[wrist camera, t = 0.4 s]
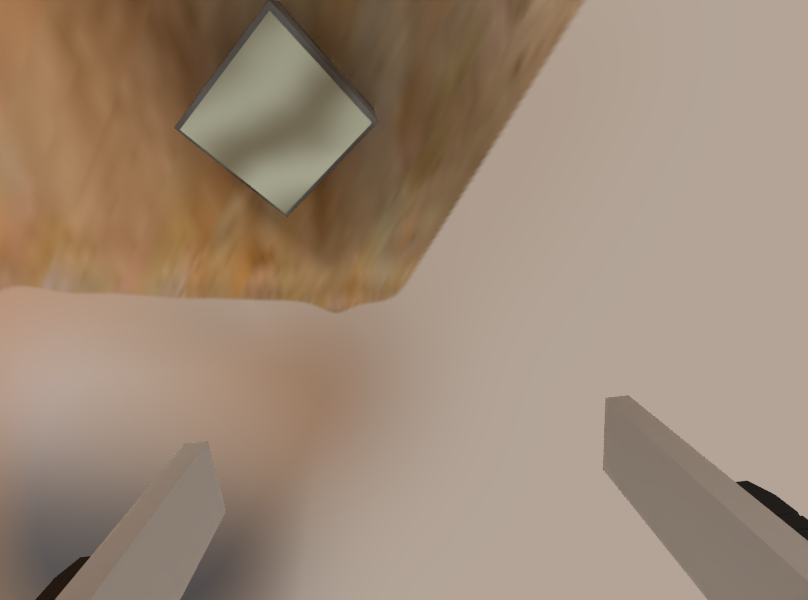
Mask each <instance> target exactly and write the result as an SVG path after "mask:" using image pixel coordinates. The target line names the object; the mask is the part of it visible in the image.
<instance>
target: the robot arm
mask: <svg viewBox="0 0 808 600" xmlns="http://www.w3.org/2000/svg"><path fill="white" fill-rule="evenodd" d="M603 470H604V471H605V472H606V473H607V475H608V476H609V477H610V479H611V480H612V481H613V482H614V484H615V485H616V486H617V487H618V489H619V490H620V491H621V492H622V494H623V495H624V496H625V497H626V498H627V500H628V501H629V502H630V504H631V505H632V506H633V507H634V508H635V510H636V511H637V512H638V513H639V515H640V516H641V517H642V518H643V520H644V521H645V522H646V523H647V525H648V526H649V527H650V528H651V530H652V531H653V532H654V533H655V535H656V536H657V537H658V538H659V540H660V541H661V542H662V543H663V545H664V546H665V547H666V548H667V550H668V551H669V552H670V553H671V555H672V556H673V557H674V558H675V560H676V561H677V562H678V563H679V565H680V566H681V567H682V568H683V570H684V571H685V572H686V573H687V574H688V576H689V577H690V578H691V580H692V581H693V582H694V583H695V584H696V586H697V587H698V588H699V590H700V591H701V592H702V593H703V595H705V597H706V598H707V599H708V600H808V520H807V519H806V518H805V517H804V516H800V515H799V514H798V512H797V511H796V510H794V509H793V508H792V507H790V506H789V505H788V504H786V503H785V502H784V501H782V500H781V499H780V498H779V497H777V496H776V495H774V494H772V493H771V492H768V491H767V490H764V489H763V488H761V487H758V486H757V485H755V484H753V483H751V482H749V481H742V482H735V481H733V480H732V479H731V478H730V477H728V476H727V475H726V474H725V473H723V472H722V471H721V470H720V469H718V468H717V467H716V466H715V465H714V464H712V463H711V462H710V461H708V460H707V459H706V458H705V457H703V456H702V455H701V454H700V453H699V452H697V451H696V450H695V449H694V448H693V447H691V446H690V445H689V444H688V443H686V442H685V441H684V440H683V439H681V438H680V437H679V436H678V435H676V434H675V433H674V432H673V431H672V430H670V429H669V428H668V427H667V426H665V425H664V424H663V423H662V422H660V421H659V420H658V419H657V418H655V417H654V416H653V415H652V414H651V413H649V412H648V411H647V410H646V409H644V408H643V407H642V406H641V405H639V404H638V403H637V402H636V401H635V400H633V399H632V398H631V397H630V396H619V397H610V398H606V403H605V429H604V457H603ZM225 512H226V510H225V506H224V502H223V498H222V494H221V490H220V487H219V482H218V479H217V474H216V470H215V467H214V463H213V459H212V455H211V451H210V447H209V443H208V441H206V442H197V443H187V444H184V445H183V446H182V447H181V449H180V450H179V451H178V452H177V453H176V455H175V456H174V457H173V458H172V459H171V461H170V462H169V463H168V464H167V466H166V467H165V468H164V469H163V470H162V472H161V473H160V474H159V475H158V476H157V477H156V479H155V480H154V481H153V482H152V484H151V485H150V486H149V487H148V488H147V489H146V491H145V492H144V493H143V494H142V496H141V497H140V498H139V499H138V500H137V501H136V503H135V504H134V505H133V506H132V508H131V509H130V510H129V511H128V512H127V514H126V515H125V516H124V517H123V518H122V520H121V521H120V522H119V523H118V524H117V526H116V527H115V528H114V529H113V530H112V532H111V533H110V534H109V535H108V536H107V538H106V539H105V540H104V541H103V542H102V544H101V545H100V546H99V547H98V548H97V550H96V551H95V552H94V553H93V554H92V556H89V557H80V558H79V559H78V560H77V561H76V562H74V563H73V564H72V565H71V566H69V567H68V568H67V569H65V570H64V571H63V572H62V573H60V574H59V575H58V576H57V577H55V578H54V579H53V581H52V582H51V583H50V584H49V585H48V586H47V587H46V589H45V590H44V591H43V592H42V593H41V594H40V595H39V596H38V598H37V599H36V600H180V599H181V597H182V595H183V593H184V591H185V589H186V587H187V585H188V583H189V581H190V579H191V578H192V576H193V574H194V572H195V570H196V568H197V566H198V564H199V562H200V560H201V558H202V556H203V555H204V553H205V551H206V549H207V547H208V545H209V543H210V541H211V539H212V537H213V535H214V533H215V531H216V529H217V528H218V526H219V523H220V522H221V520H222V518H223V516H224V514H225Z"/></svg>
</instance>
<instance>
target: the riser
mask: <svg viewBox="0 0 808 600" xmlns="http://www.w3.org/2000/svg"><path fill="white" fill-rule="evenodd" d="M377 123H378V119H377V117H376V114H375V112H374V109H373V108H372V107H371V105H370V104H369V103H368V102H367V101H366V100H365V99H364V98H363V96H362V95H361V94H360V93H359V92H358V91H357V90H356V89H355V87H354V86H353V85H352V84H351V83H350V82H349V81H348V80H347V78H346V77H345V76H344V75H343V74H342V73H341V72H340V71H339V69H338V68H337V67H336V66H335V65H334V64H333V63H332V62H331V60H330V59H329V58H328V57H327V56H326V55H325V54H324V53H323V51H322V50H321V49H320V48H319V47H318V46H317V45H316V44H315V42H314V41H313V40H312V39H311V38H310V37H309V36H308V35H307V33H306V32H305V31H304V30H303V29H302V28H301V27H300V26H299V24H298V23H297V22H296V21H295V20H294V19H293V18H292V17H291V15H290V14H289V13H288V12H287V11H286V10H285V9H284V8H283V6H282V5H281V4H280V3H279V2H278V1H274V0H269V1H268V2H267V3H266V5H265V6H264V7H263V9H262V10H261V11H260V13H259V14H258V15H257V17H256V18H255V19H254V21H253V22H252V23H251V25H250V26H249V27H248V29H247V30H246V31H245V33H244V34H243V36H242V37H241V38H240V40H239V41H238V42H237V44H236V45H235V46H234V48H233V49H232V50H231V52H230V53H229V54H228V56H227V57H226V58H225V60H224V61H223V62H222V64H221V65H220V66H219V68H218V69H217V70H216V72H215V73H214V75H213V76H212V77H211V79H210V80H209V81H208V83H207V84H206V85H205V87H204V88H203V89H202V91H201V92H200V93H199V95H198V96H197V97H196V99H195V100H194V101H193V103H192V104H191V105H190V107H189V108H188V109H187V111H186V112H185V114H184V115H183V116H182V118H181V119H180V120H179V122H178V123H177V124H176V126H175V127H174V128H175V129H176V130H178V131H179V132H180V133H181V134H183V135H184V136H185V137H186V138H188V139H189V140H190V141H191V142H193V143H194V144H195V145H197V146H198V147H199V148H200V149H202V150H203V151H204V152H205V153H207V154H208V155H209V156H210V157H212V158H213V159H214V160H215V161H217V162H218V163H219V164H221V165H222V166H223V167H224V168H226V169H227V170H228V171H229V172H231V173H232V174H233V175H234V176H236V177H237V178H238V179H239V180H241V181H242V182H243V183H245V184H246V185H247V186H248V187H250V188H251V189H252V190H253V191H255V192H256V193H257V194H258V195H260V196H261V197H262V198H263V199H265V200H266V201H267V202H269V203H270V204H271V205H272V206H274V207H275V208H276V209H277V210H279V211H280V212H281V213H282V214H284V215H285V216H286V217H288V215H289V214H290V213H291V212H292V211H293V210H294V209H295V208H296V207H297V206H298V205H299V204H300V203H301V202H302V201H303V200H304V199H305V198H306V197H307V196H308V195H309V194H310V192H311V191H312V190H313V189H314V188H315V187H316V186H317V185H318V184H319V183H320V182H321V181H322V180H323V179H324V178H325V177H326V176H327V175H328V174H329V173H330V172H331V171H332V170H333V168H334V167H335V166H336V165H337V164H338V163H339V162H340V161H341V160H342V159H343V158H344V157H345V156H346V155H347V154H348V153H349V152H350V151H351V150H352V149H353V148H354V147H355V146H356V144H357V143H358V142H359V141H360V140H361V139H362V138H363V137H364V136H365V135H366V134H367V133H368V132H369V131H370V130H371V129H372V128H373V127H374V126H375V125H376V124H377Z"/></svg>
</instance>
